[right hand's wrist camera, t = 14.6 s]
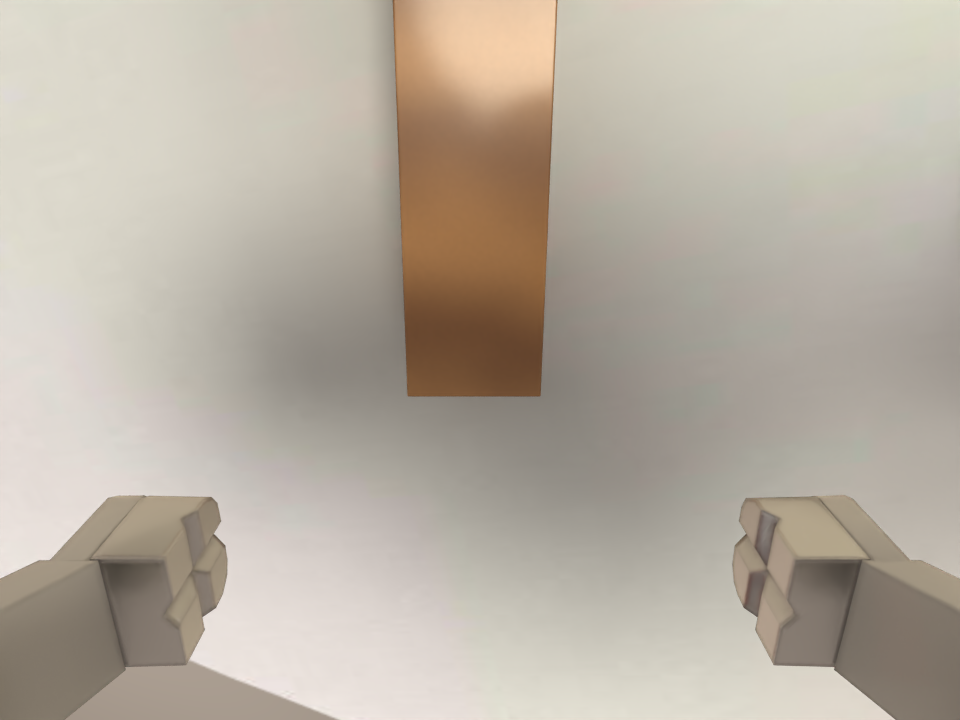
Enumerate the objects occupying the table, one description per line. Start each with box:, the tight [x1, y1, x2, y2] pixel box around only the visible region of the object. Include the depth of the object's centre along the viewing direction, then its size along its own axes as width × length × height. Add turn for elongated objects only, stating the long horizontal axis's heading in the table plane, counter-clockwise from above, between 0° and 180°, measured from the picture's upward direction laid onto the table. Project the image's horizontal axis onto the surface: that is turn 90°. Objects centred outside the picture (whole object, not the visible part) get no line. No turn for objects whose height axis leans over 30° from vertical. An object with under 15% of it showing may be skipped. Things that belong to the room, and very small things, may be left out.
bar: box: [393, 0, 557, 396], centre depth 24 cm, size 26×5×8 cm, turn 0°
